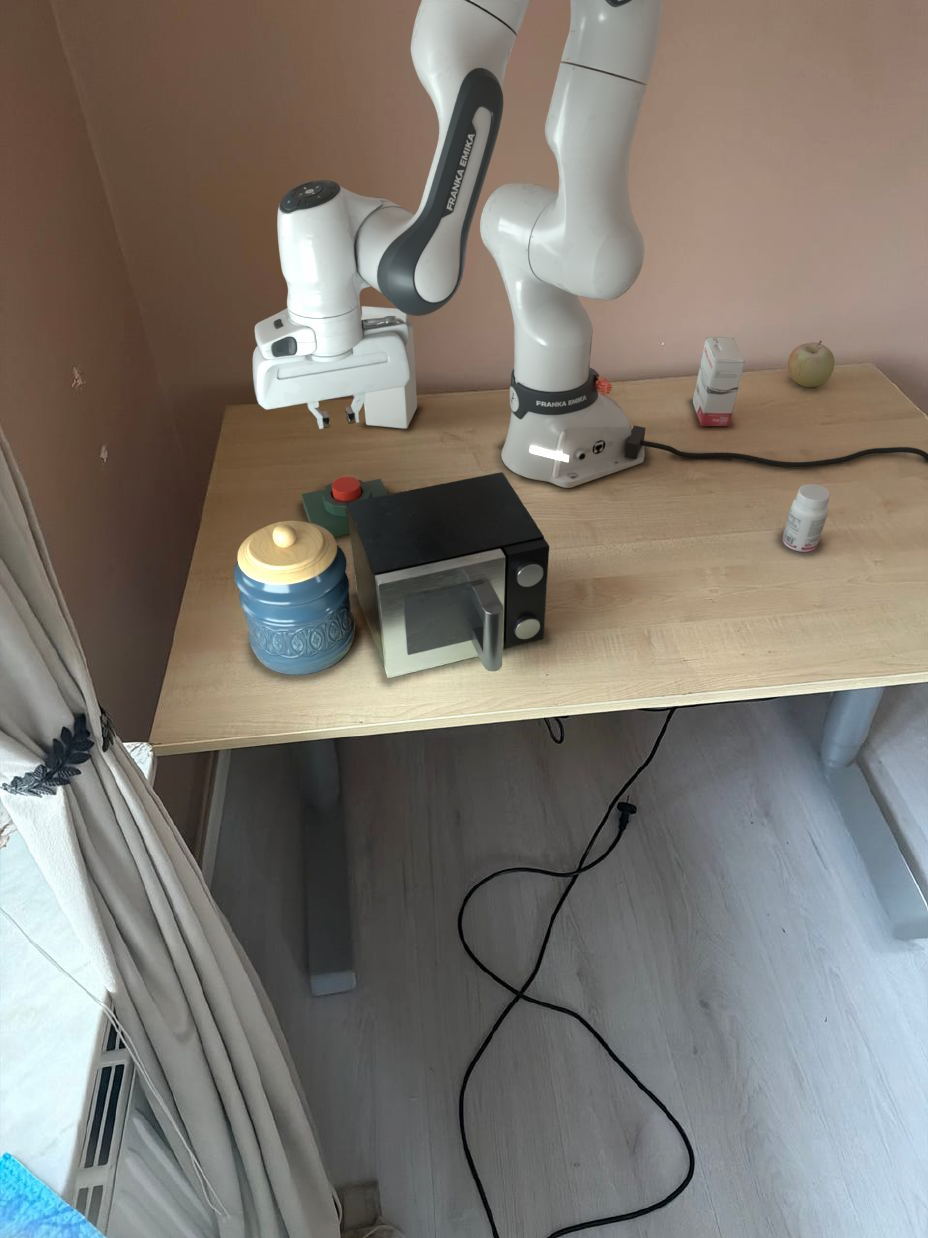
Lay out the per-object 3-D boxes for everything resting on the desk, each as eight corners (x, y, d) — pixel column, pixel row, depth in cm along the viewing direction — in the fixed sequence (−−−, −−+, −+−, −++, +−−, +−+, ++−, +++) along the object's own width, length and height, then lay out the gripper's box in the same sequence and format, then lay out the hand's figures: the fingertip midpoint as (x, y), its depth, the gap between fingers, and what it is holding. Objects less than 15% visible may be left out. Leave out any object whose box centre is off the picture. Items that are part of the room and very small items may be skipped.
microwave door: (519, 682, 106) (523, 587, 96) (400, 712, 103) (391, 617, 93) (498, 641, 111) (500, 548, 101) (384, 669, 108) (374, 575, 98)
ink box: (731, 427, 147) (746, 360, 139) (700, 427, 148) (713, 360, 139) (721, 400, 154) (734, 335, 146) (691, 401, 154) (703, 335, 146)
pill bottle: (818, 535, 126) (834, 485, 120) (816, 555, 123) (832, 505, 117) (783, 529, 127) (797, 479, 121) (780, 549, 124) (795, 498, 118)
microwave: (545, 644, 111) (552, 548, 100) (389, 682, 106) (379, 586, 96) (500, 564, 122) (502, 471, 112) (357, 596, 118) (345, 502, 108)
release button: (357, 484, 130) (356, 474, 129) (363, 499, 128) (362, 489, 126) (330, 489, 129) (329, 479, 128) (336, 504, 127) (335, 494, 125)
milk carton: (407, 429, 148) (400, 319, 135) (365, 425, 149) (355, 315, 136) (417, 408, 153) (411, 299, 140) (377, 404, 154) (368, 296, 142)
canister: (362, 668, 108) (347, 553, 96) (253, 685, 106) (224, 571, 94) (349, 598, 117) (334, 486, 105) (249, 613, 115) (222, 500, 103)
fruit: (826, 375, 160) (838, 332, 155) (829, 394, 155) (841, 351, 149) (782, 370, 161) (793, 328, 156) (783, 390, 156) (794, 347, 151)
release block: (381, 490, 135) (379, 468, 133) (397, 524, 129) (395, 501, 126) (303, 505, 133) (299, 483, 130) (315, 541, 127) (311, 518, 124)
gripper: (400, 303, 116) (406, 399, 125) (241, 327, 111) (260, 425, 121) (413, 323, 111) (419, 421, 121) (248, 349, 107) (267, 449, 116)
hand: (338, 423), depth 121 cm, fingers open, 3 cm apart
